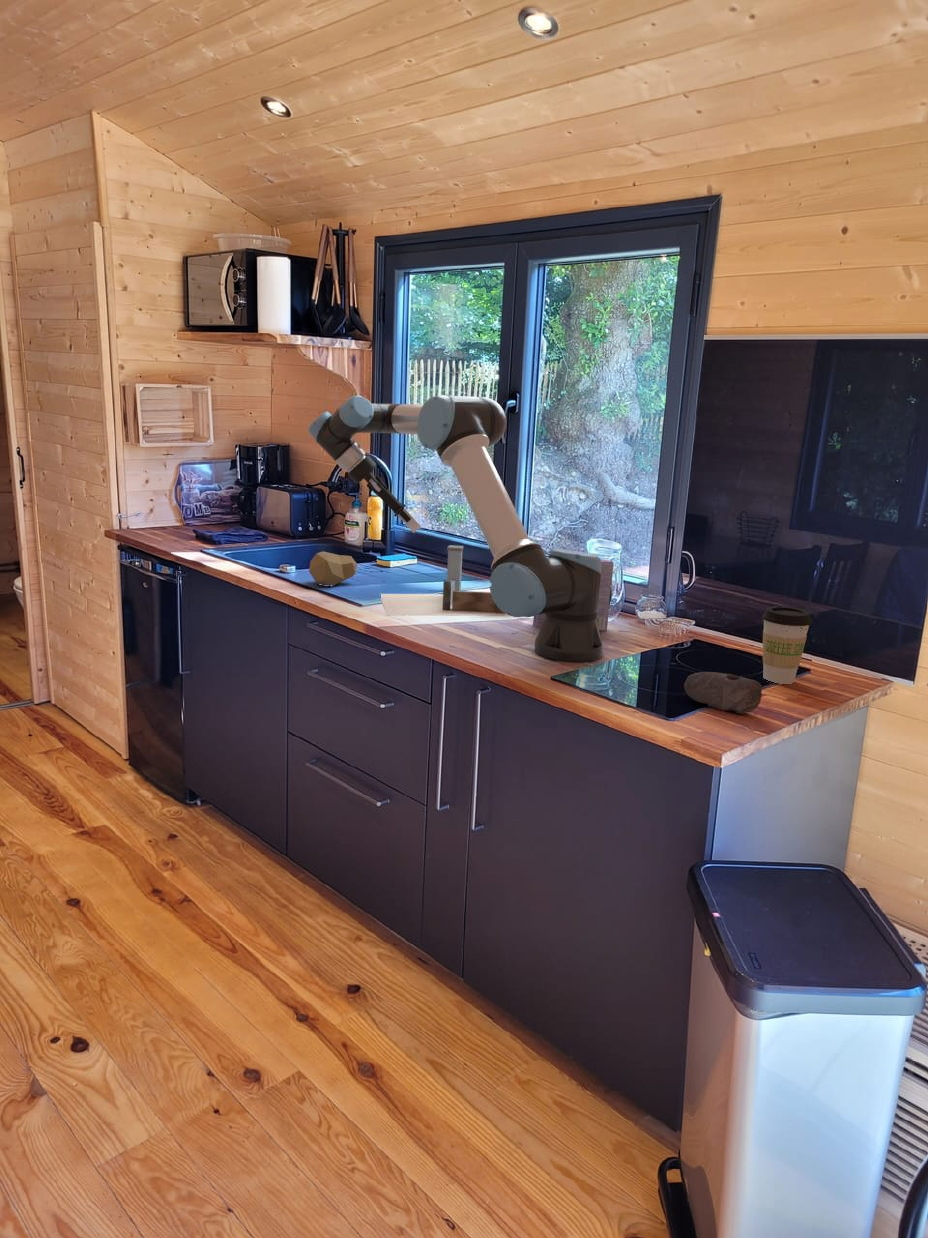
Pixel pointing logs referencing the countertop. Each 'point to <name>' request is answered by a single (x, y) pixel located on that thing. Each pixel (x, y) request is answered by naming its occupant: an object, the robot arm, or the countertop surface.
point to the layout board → (423, 605)
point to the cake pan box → (604, 598)
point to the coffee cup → (783, 642)
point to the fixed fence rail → (468, 600)
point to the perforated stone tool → (724, 691)
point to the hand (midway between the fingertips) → (417, 529)
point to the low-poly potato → (331, 568)
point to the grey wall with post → (454, 567)
